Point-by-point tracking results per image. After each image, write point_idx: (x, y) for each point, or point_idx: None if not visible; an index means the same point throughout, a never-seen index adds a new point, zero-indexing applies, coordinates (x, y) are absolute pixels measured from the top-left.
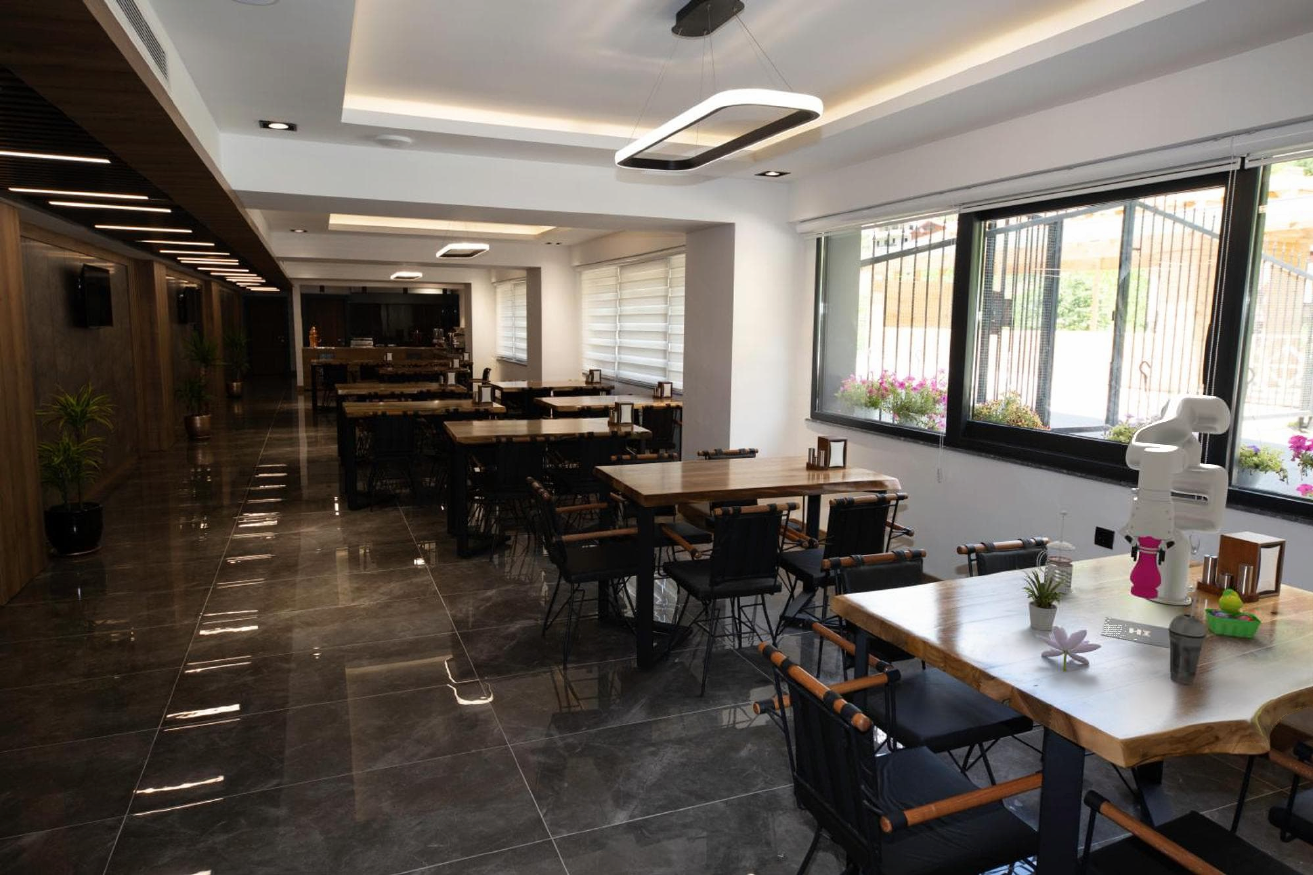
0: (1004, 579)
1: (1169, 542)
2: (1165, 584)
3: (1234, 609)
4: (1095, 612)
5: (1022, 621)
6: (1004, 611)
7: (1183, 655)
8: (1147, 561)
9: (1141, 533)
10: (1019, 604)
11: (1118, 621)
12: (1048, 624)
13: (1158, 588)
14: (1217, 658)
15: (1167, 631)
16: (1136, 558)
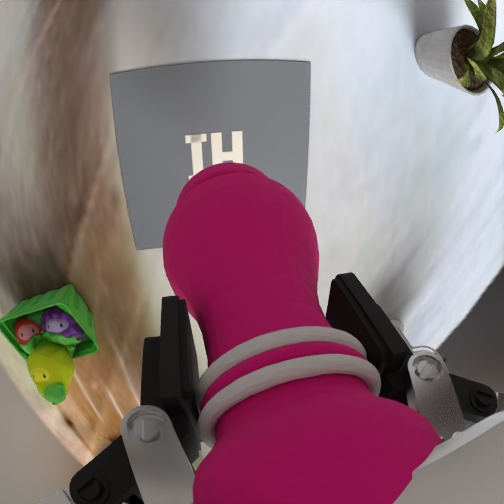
0: (445, 324)
1: (113, 498)
2: None
3: (38, 349)
4: (324, 254)
5: None
6: (483, 132)
7: None
8: (263, 281)
9: (474, 484)
10: (458, 200)
11: None
12: (430, 34)
13: None
14: (25, 89)
15: (152, 219)
16: (342, 289)
